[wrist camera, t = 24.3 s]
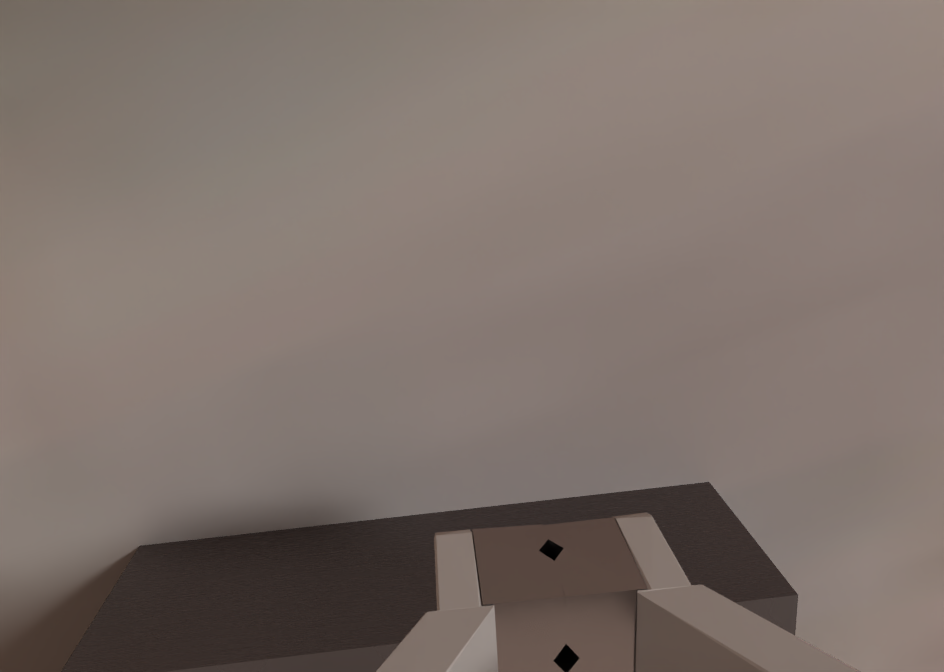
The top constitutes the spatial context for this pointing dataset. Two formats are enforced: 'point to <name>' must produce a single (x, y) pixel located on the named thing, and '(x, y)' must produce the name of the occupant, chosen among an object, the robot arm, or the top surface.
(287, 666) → the metal bookend
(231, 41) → the top surface
